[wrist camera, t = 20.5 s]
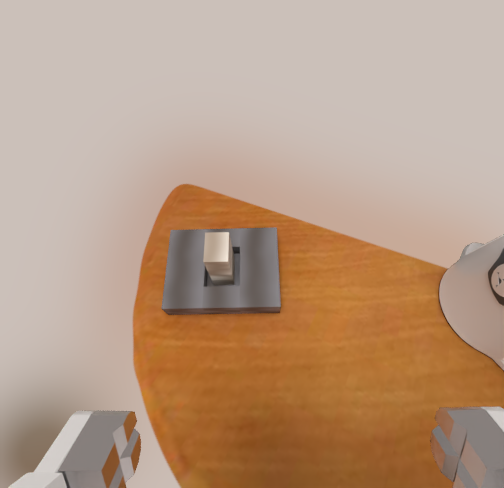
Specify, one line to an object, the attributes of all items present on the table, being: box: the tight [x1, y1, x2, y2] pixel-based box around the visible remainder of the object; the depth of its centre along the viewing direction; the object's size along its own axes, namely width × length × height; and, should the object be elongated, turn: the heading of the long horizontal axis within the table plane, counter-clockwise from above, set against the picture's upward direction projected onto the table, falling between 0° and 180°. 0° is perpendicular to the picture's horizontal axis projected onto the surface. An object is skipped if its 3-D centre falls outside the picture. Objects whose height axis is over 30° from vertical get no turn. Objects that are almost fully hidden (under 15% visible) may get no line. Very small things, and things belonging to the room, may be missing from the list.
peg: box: [203, 232, 235, 285], centre depth 42 cm, size 3×4×9 cm
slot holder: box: [162, 228, 281, 315], centre depth 45 cm, size 16×12×4 cm
